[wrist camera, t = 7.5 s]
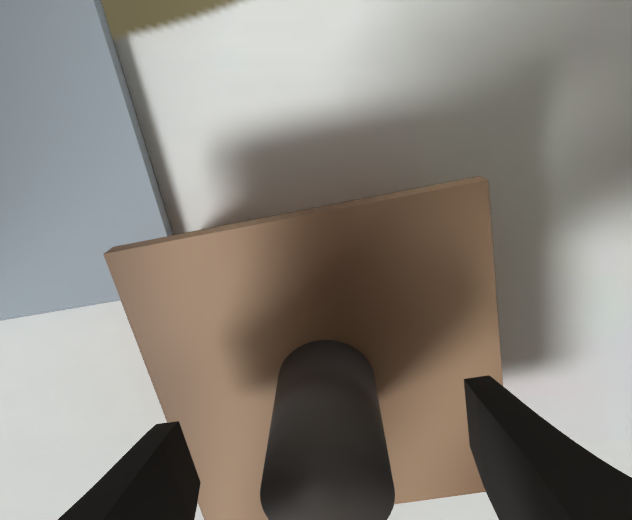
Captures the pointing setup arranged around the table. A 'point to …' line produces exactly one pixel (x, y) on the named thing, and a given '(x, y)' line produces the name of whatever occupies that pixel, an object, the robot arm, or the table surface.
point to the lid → (322, 350)
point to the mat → (67, 159)
